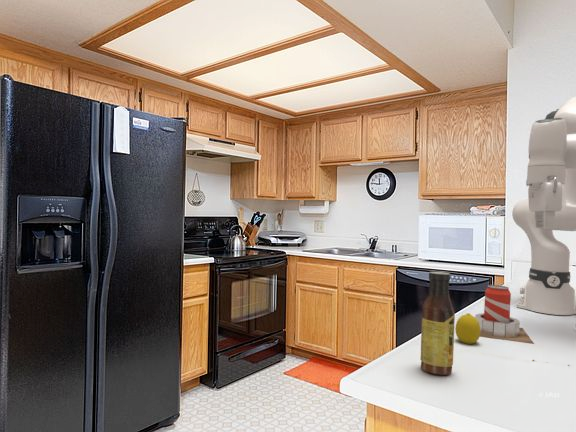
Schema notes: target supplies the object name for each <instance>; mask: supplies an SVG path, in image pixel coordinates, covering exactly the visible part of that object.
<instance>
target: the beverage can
mask: <svg viewBox="0 0 576 432" xmlns="http://www.w3.org/2000/svg"><path fill="white" fill-rule="evenodd" d="M511 295H512V293H511V292H510V289H509V287H508V286H504V285H499V284H489V285H487V288H486V290H485V291H484V306H483V307H484V309H483V311H484V312H483V313H484V319H486V320H490V321H495V322H503V323H509V321H510V317H511V302H512V301H511V299H512V298H511V297H512V296H511Z"/></svg>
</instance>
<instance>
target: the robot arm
mask: <svg viewBox="0 0 576 432" xmlns="http://www.w3.org/2000/svg"><path fill="white" fill-rule="evenodd" d="M528 159H529V160H528V164H527V172H526V173H527V174H526V175H527V176H526V181H525V182H526V183H525V185H526V187H528V190H527V191H528V196H527V197H528V199H524V200H522V199H521V200H519V201H518V202H516V204H515V205H514V207H513V209H512V220H513V221H514V223H515V224H516V225H517V227H519V228H520V229H522V231H523V232H524V233H525V234H526V236H527V239H528V241H529V244H530V250H531V252H530V254H531V262H530V263H531V264H530V267H529V271H528V278H529V279H528V280H527V282H526V283H525V284H524V286H522V287H519V294H520V295H521V297H519V298H518V299H517V304H516V308H519V309H525V310H528V311H533V312H537V313H540V314H541V313H542V314H545V315H546V314H548V315H554V316H571V315H576V302H575V301H576V298H575V297H576V296H575V295H576V294H575V288H574V287H572V285H570V282H571V277H572V276H571V272H570V257H571V255H570V253H571V251H570V250H569V248H568V246H567V245H566V244H564V243H563V242H561V241H559V240H557V239H556V238H555V235H554V232H553V231H562V232H563V231H564V232H576V96H573V97H571V98H569V99H568V100H567V101H565V102H564V103H563V104H562V105H561V106H560V107H559V108H557V109H556V110H553V111H551V112H549V113H547V114H546V116H545V117H544V119H538V120H535V121H534V122H533V123H532V125H531V129H530V134H529V140H528Z"/></svg>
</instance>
